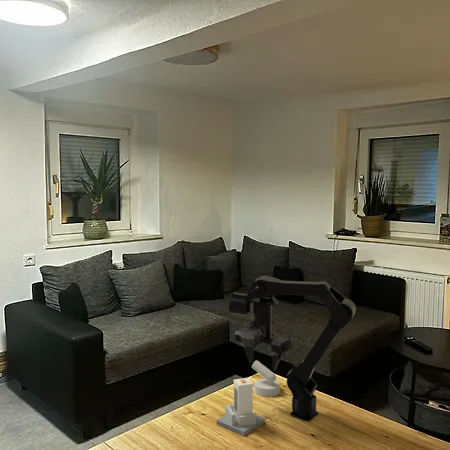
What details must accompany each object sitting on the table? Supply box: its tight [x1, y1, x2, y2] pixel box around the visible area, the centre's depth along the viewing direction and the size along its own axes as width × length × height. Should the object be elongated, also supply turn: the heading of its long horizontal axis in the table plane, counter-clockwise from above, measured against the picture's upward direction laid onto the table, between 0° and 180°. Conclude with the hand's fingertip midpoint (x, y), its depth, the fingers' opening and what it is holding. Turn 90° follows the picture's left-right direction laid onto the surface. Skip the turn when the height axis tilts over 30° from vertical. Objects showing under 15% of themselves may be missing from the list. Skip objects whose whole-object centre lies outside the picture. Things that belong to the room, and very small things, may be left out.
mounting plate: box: [216, 403, 266, 437], centre depth 135 cm, size 10×10×4 cm
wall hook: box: [251, 360, 281, 397], centre depth 157 cm, size 9×10×10 cm
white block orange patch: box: [233, 377, 254, 423], centre depth 136 cm, size 4×4×11 cm
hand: (262, 366), depth 145 cm, fingers open, 9 cm apart
